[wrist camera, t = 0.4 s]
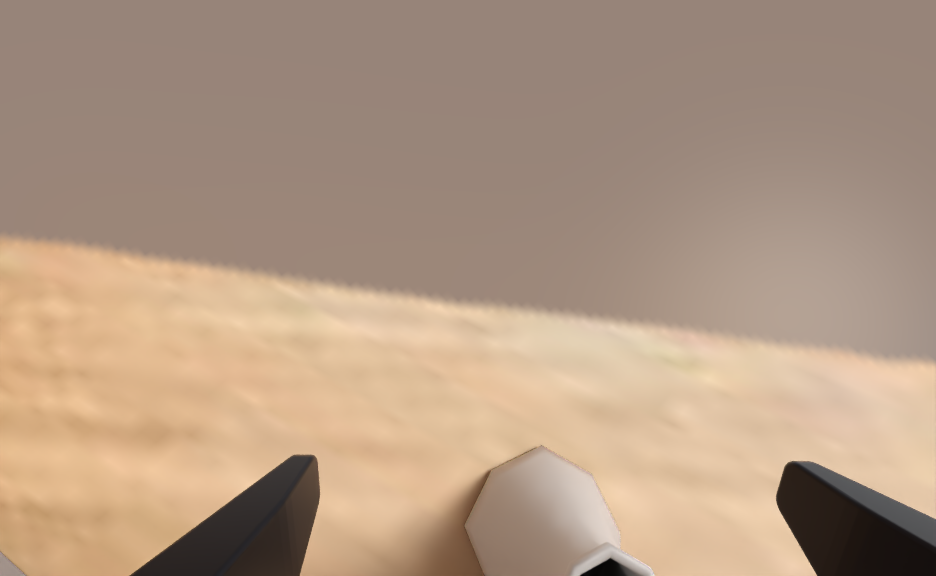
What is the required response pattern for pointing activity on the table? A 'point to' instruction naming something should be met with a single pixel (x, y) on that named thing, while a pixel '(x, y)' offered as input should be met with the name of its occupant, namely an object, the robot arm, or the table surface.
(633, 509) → the table surface
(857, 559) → the robot arm
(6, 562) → the grey piece
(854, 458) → the table surface
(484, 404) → the table surface
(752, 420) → the table surface
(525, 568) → the flask
